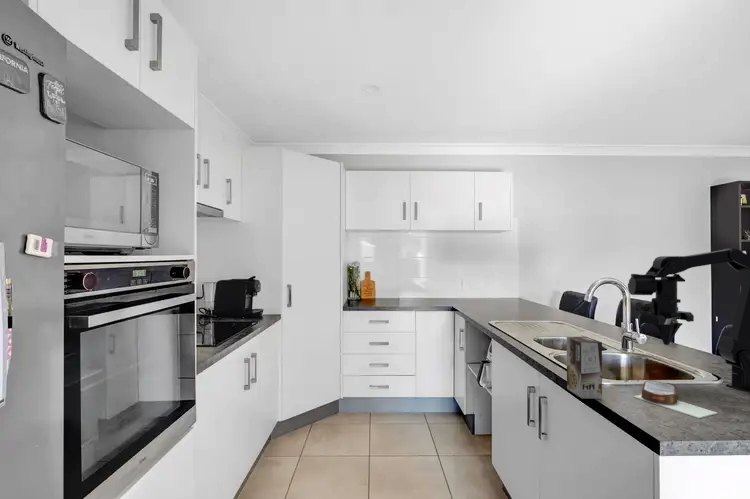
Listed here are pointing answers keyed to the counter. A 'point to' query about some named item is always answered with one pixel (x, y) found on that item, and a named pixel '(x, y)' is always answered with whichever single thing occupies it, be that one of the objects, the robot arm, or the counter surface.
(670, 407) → the mat
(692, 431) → the counter surface
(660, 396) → the tin
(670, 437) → the counter surface
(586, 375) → the coffee box
